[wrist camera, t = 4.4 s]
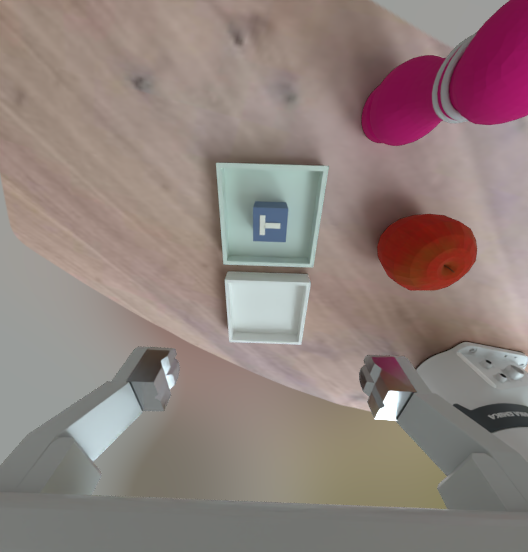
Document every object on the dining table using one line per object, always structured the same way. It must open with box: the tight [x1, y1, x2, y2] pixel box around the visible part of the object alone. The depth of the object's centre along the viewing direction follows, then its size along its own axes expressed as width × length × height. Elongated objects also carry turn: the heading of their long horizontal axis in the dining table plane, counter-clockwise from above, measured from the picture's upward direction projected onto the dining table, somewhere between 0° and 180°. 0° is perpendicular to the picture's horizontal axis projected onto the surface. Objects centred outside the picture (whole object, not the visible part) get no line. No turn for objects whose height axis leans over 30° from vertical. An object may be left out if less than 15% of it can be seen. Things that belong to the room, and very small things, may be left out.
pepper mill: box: [362, 0, 528, 146], centre depth 17 cm, size 7×7×20 cm
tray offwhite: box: [225, 271, 311, 345], centre depth 39 cm, size 14×14×3 cm
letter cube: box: [253, 201, 288, 242], centre depth 30 cm, size 4×4×5 cm
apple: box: [377, 214, 477, 290], centre depth 29 cm, size 10×10×12 cm
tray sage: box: [216, 163, 329, 267], centre depth 31 cm, size 14×14×3 cm
